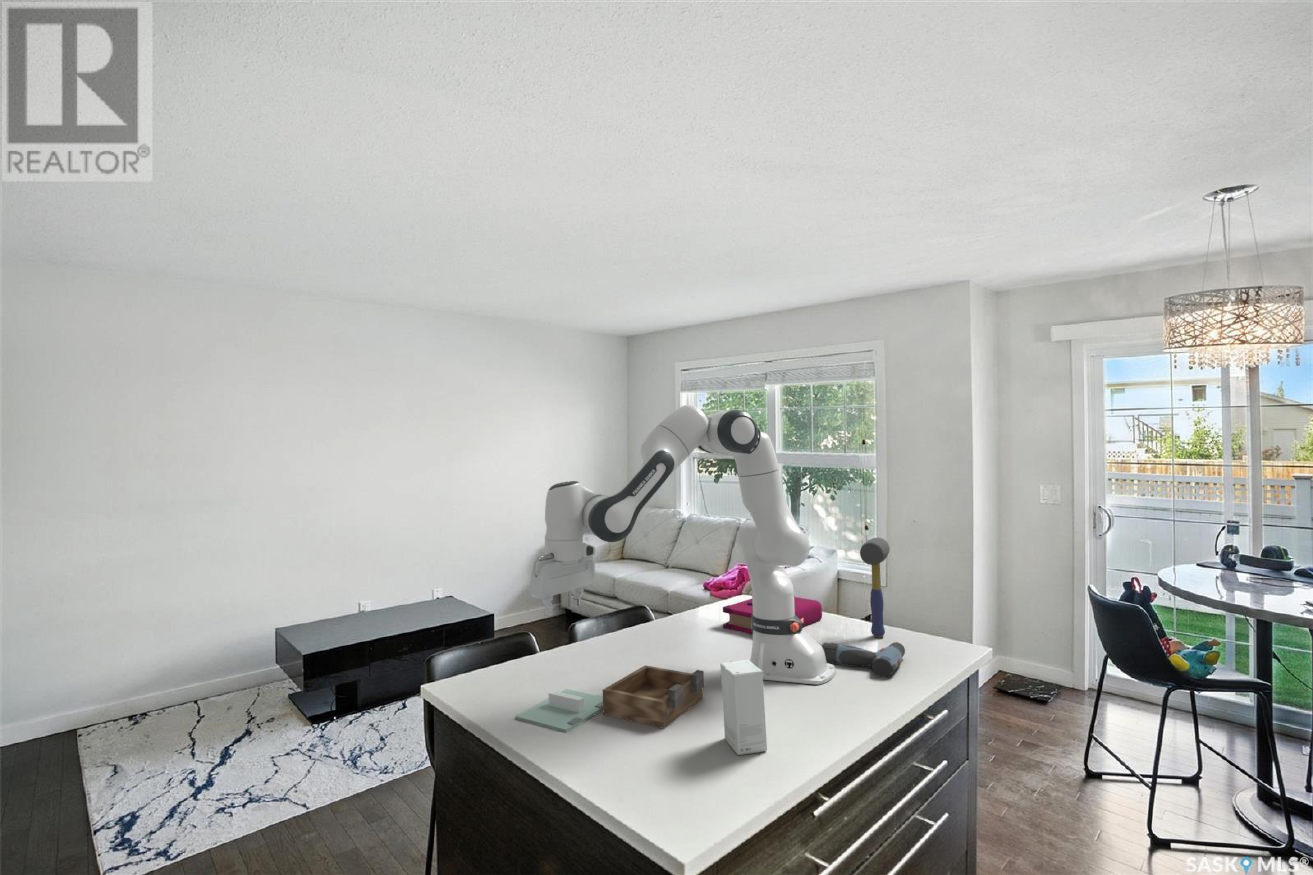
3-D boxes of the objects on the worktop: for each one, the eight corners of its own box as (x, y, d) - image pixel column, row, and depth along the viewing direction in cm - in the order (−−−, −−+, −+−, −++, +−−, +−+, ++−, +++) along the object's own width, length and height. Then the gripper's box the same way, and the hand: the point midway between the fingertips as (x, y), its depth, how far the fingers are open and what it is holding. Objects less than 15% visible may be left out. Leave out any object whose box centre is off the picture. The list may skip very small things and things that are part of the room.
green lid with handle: (615, 704, 151) (614, 687, 151) (566, 735, 135) (566, 716, 135) (566, 693, 158) (566, 677, 158) (515, 721, 143) (514, 703, 143)
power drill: (838, 648, 186) (909, 659, 175) (816, 667, 171) (893, 680, 160) (837, 629, 187) (909, 639, 176) (815, 647, 171) (893, 659, 160)
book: (822, 621, 215) (821, 599, 215) (774, 641, 195) (773, 616, 195) (771, 611, 230) (770, 590, 230) (721, 628, 210) (720, 605, 210)
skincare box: (767, 752, 124) (765, 671, 124) (735, 756, 122) (732, 675, 123) (752, 733, 132) (749, 658, 132) (721, 737, 130) (719, 661, 131)
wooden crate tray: (708, 699, 150) (707, 668, 150) (670, 730, 135) (669, 694, 135) (645, 687, 159) (644, 657, 159) (603, 714, 144) (602, 680, 144)
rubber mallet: (887, 644, 187) (883, 542, 188) (861, 641, 191) (857, 541, 192) (894, 632, 198) (890, 536, 199) (869, 630, 202) (866, 535, 203)
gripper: (545, 558, 138) (544, 622, 138) (599, 546, 156) (599, 603, 155) (523, 555, 141) (522, 618, 141) (578, 545, 159) (578, 600, 159)
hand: (563, 610), depth 148 cm, fingers open, 8 cm apart
